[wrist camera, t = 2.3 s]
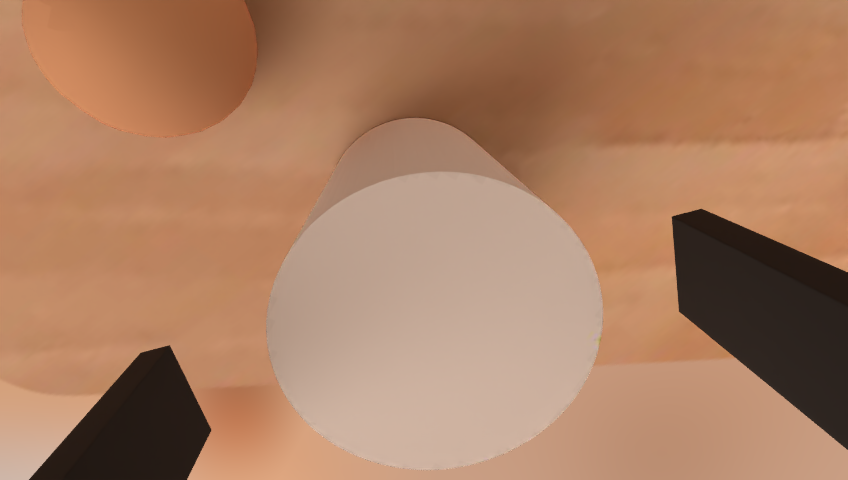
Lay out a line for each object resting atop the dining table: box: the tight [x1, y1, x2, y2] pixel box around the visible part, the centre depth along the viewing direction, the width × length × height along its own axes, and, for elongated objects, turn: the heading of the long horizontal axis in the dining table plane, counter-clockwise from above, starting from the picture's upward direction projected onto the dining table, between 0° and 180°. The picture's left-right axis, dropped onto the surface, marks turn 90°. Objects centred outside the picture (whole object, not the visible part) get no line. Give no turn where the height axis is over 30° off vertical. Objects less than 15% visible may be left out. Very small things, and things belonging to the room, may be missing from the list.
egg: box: [22, 0, 258, 138], centre depth 16 cm, size 6×6×8 cm
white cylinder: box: [266, 118, 603, 470], centre depth 17 cm, size 8×8×12 cm
